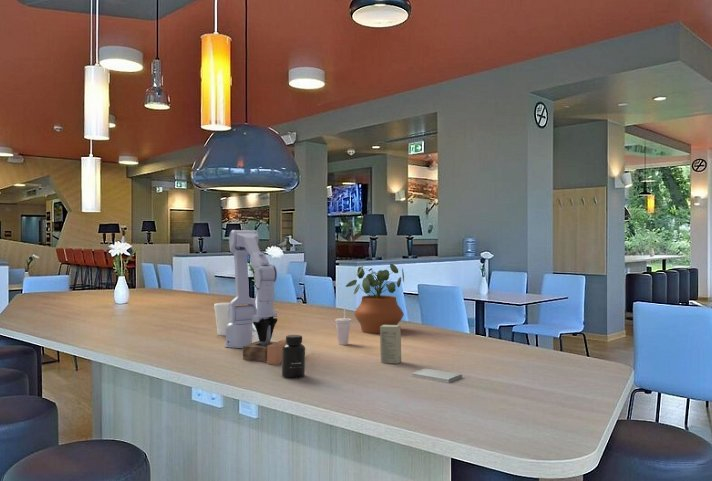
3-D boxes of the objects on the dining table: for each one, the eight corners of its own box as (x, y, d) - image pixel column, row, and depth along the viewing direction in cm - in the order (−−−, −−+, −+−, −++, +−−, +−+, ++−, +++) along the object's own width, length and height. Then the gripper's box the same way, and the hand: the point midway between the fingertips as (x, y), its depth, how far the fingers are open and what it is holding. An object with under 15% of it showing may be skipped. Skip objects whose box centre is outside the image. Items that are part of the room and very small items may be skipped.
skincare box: (401, 361, 190) (401, 325, 190) (398, 364, 186) (398, 326, 186) (383, 360, 192) (383, 323, 192) (379, 362, 188) (379, 325, 188)
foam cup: (241, 333, 244) (241, 303, 244) (225, 336, 236) (225, 305, 236) (225, 331, 249) (225, 302, 249) (209, 334, 241) (209, 304, 241)
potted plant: (385, 336, 238) (385, 265, 238) (333, 330, 255) (333, 263, 255) (413, 330, 257) (413, 263, 257) (362, 324, 274) (363, 262, 274)
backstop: (267, 364, 185) (267, 345, 185) (290, 353, 202) (291, 336, 202) (275, 364, 184) (275, 346, 184) (298, 354, 201) (298, 337, 201)
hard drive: (462, 373, 168) (426, 367, 176) (448, 379, 162) (411, 372, 170) (462, 379, 168) (426, 373, 176) (448, 385, 162) (411, 378, 170)
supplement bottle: (295, 380, 164) (295, 338, 164) (277, 377, 168) (277, 336, 168) (309, 375, 170) (309, 335, 170) (291, 372, 174) (291, 333, 174)
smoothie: (349, 345, 218) (349, 309, 218) (333, 345, 219) (333, 308, 219) (352, 343, 224) (353, 307, 224) (336, 342, 225) (337, 307, 225)
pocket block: (242, 359, 192) (242, 346, 192) (258, 353, 202) (258, 340, 202) (272, 361, 188) (272, 348, 188) (286, 355, 199) (286, 342, 199)
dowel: (258, 349, 194) (258, 326, 194) (263, 347, 198) (263, 324, 198) (267, 350, 193) (267, 326, 193) (272, 348, 196) (272, 325, 196)
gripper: (265, 303, 187) (265, 344, 187) (285, 299, 201) (285, 337, 201) (247, 302, 189) (246, 343, 189) (267, 298, 203) (267, 336, 203)
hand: (265, 340), depth 195 cm, fingers closed on dowel, 3 cm apart
